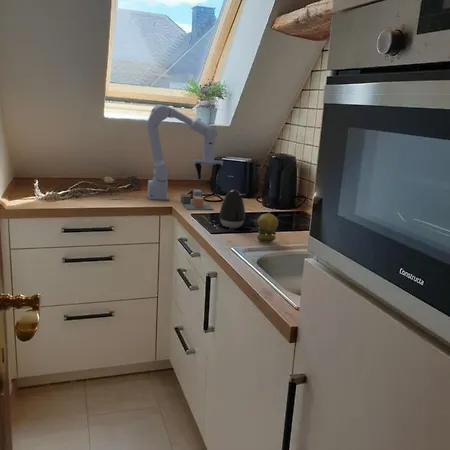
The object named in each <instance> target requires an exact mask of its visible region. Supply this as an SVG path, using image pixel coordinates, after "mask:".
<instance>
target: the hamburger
mask: <svg viewBox="0 0 450 450" xmlns="http://www.w3.org/2000/svg"><path fill="white" fill-rule="evenodd" d="M256 221H257V225H258V226H259V227H257V229H258V231H257V233H258V235H256V238H257V240H258V241H259V242H263V241H267V242H266V243H268V241H270V242H274V241H275V240H276V238H277V237H276V235H277V233H276V232H277V227H278V226H279V220H278V218H277V217H276V216H275V215H274V214H272V213H271V212H270V211H269V212H266V213H263V214H261V215H260V216H258V218H257V220H256Z"/></svg>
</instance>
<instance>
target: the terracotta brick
mask: <svg viewBox="0 0 450 450" xmlns="http://www.w3.org/2000/svg"><path fill="white" fill-rule="evenodd" d="M191 204H192V205H193V206H194V207H195V208H203V204H204V198H203V196H202V197H201V196H193V195H192V202H191Z"/></svg>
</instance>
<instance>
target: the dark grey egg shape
mask: <svg viewBox="0 0 450 450" xmlns="http://www.w3.org/2000/svg"><path fill="white" fill-rule="evenodd" d="M246 196H247V194H246V193H241V192H240V191H239V190H237V189H230V190H228V192H227V193H226V195H225V196H224V199H223V201H222V203H221V206H220V210H219V220H220V224H222V226H223V227H224V226H225V228H226V227H229V228H228V229H231V228H235V229H238V228H240V227H241V226H242V225H243V224H244V222H245V219H246V212H245V211H246V209H245V204H244V199H243V198H244V197H246Z"/></svg>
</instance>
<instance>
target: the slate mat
mask: <svg viewBox="0 0 450 450" xmlns="http://www.w3.org/2000/svg"><path fill="white" fill-rule="evenodd" d="M182 205H183V207H184V208H185V210H186V209H187V210H186V211H214V208H213V207H212V206H211V205H210V204H207V203H206V204H205V203H203V208H195V207H194V206H193V205H192V203H191V204H182Z"/></svg>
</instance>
